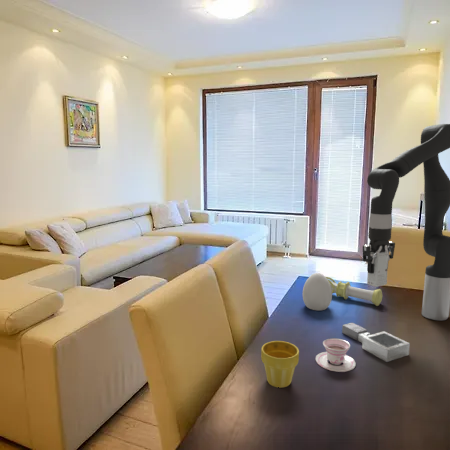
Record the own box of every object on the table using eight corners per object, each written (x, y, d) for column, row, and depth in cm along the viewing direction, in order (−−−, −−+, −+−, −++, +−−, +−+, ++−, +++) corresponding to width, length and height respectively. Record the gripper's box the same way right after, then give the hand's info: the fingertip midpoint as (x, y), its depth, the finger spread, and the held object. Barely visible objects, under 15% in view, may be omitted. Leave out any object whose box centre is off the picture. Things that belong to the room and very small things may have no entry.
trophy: (384, 286, 168) (319, 274, 186) (379, 291, 162) (313, 277, 180) (383, 304, 170) (318, 290, 187) (378, 309, 164) (312, 294, 181)
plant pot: (289, 396, 102) (290, 362, 100) (254, 384, 107) (254, 351, 106) (303, 378, 110) (304, 346, 109) (270, 368, 116) (271, 337, 114)
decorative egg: (335, 305, 167) (336, 272, 164) (326, 314, 157) (327, 279, 154) (308, 300, 173) (309, 267, 171) (297, 308, 163) (298, 274, 161)
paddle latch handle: (357, 328, 143) (357, 318, 143) (408, 354, 124) (409, 343, 123) (336, 334, 139) (337, 323, 138) (386, 362, 119) (387, 349, 119)
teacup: (333, 376, 112) (334, 356, 111) (307, 357, 122) (308, 339, 121) (364, 367, 117) (365, 348, 116) (336, 350, 127) (337, 332, 126)
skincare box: (377, 287, 137) (379, 254, 135) (366, 284, 140) (367, 251, 138) (387, 284, 140) (389, 251, 138) (376, 281, 144) (378, 249, 142)
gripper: (385, 223, 143) (383, 266, 146) (357, 226, 137) (354, 271, 139) (403, 226, 137) (400, 271, 139) (373, 229, 130) (371, 277, 133)
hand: (377, 271), depth 139 cm, fingers closed on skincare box, 6 cm apart
